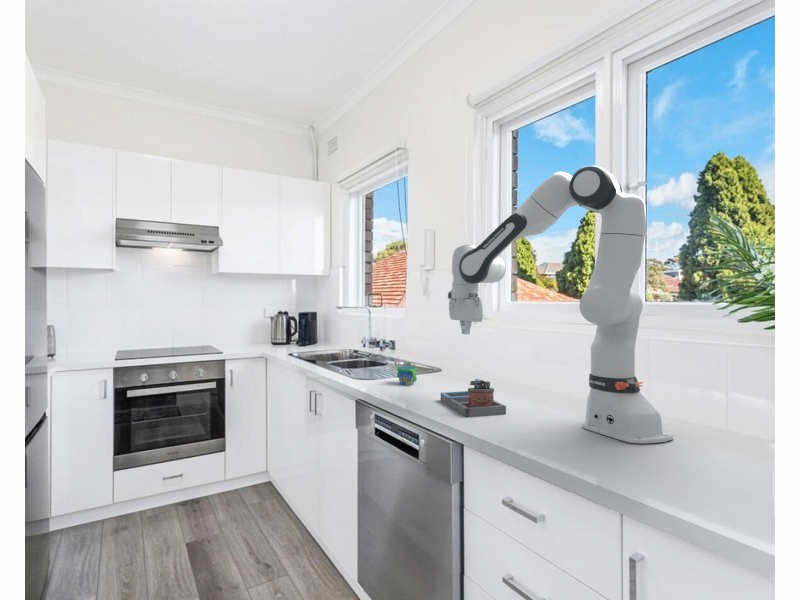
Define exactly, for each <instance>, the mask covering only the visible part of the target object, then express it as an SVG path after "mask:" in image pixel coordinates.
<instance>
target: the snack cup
mask: <svg viewBox="0 0 800 600" xmlns="http://www.w3.org/2000/svg"><path fill="white" fill-rule="evenodd" d="M396 371H397V373H396V374H397V375H396V376H397V378H398V381H399V385H400V386H405V387H406V386H407V387H409V386H410V387H411V386H414V383H415V382H416V381H417V380H418V378H417V374H416V371H417V367H415V366H411V365H408V366H407V365H404V366H398V367H396Z"/></svg>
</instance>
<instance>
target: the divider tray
mask: <svg viewBox="0 0 800 600" xmlns="http://www.w3.org/2000/svg"><path fill="white" fill-rule="evenodd" d="M480 380H481V379H479V378H475V379H474V381H480ZM478 386H479V385H477V388H478ZM486 387H487V385H486ZM440 402H442V403H444V404H445V405H447V406H448V407H449V408H451V409H453V410H454V411H456V412H458V413H459V414H461V415H462V416H464V417H466V418H472V417H473V418H474V417H487V416H497V415H498V416H499V415H501V416H502V415H506V414H507V405H505V404H503V403H500V402H499V401H496V400H494V406H486V407H473V408H469V391H468V390H464V391H449V392H446V391H445V392H440Z"/></svg>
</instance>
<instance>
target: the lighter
mask: <svg viewBox="0 0 800 600" xmlns="http://www.w3.org/2000/svg"><path fill="white" fill-rule="evenodd" d="M469 384H470V386H473V387H468V388H467V391H469V408H473V407H486V406H494V401H495V400H494V392H495V388H494V387H490V386H491V381H489V380H487V381H484V380H483V379H480V381H475V380H470V382H469ZM477 385H479V386H478V388H477ZM486 385H487V387H486Z"/></svg>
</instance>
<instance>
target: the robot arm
mask: <svg viewBox="0 0 800 600" xmlns="http://www.w3.org/2000/svg"><path fill="white" fill-rule="evenodd" d="M573 206H579V207H581V208H583V209H584V210H585V209H586V210H588V211H590V212H593V213H597V214H600V216H601V217H600V218H601V227H600V234H599V241H598V247H597V254H596V260H595V265H594V268H593V271H592V274H591V276H590V279H589V282H588V285H587V288H586V290H585V292H584V294H583V295H581V297H580V300H579V311H580V314H581V316H582V318H583V319H585V320H586V321H587V322H589V323H591V324H593V325H596V329H595V330H596V331H595V335H594V338H593V341H592V343H591V346H590V373H589V375H588V376H589V377H588V386H589V388H590V391H589V394H588V397H587V398H586V409H585V418H584V420H585V421H584V422H583V423H582V425H581V428H582V429H584V430H586V431H587V430H588V431H591V432H594V433H597V434H601V435H604V436H606V437H609V438H613V439H617V440H619V441H622V442H626V443H629V444H656V443H664V442H668V441H669V442H670V441H671V440H673V439H674V434H673V433H671V432H668V431H665V430H664V429H663V422H662V416H661V413H660V412H659V411H658V410H657V409H656V408H655V407H654V406H653V404H651V402H649V400H648V399H647V398H646V397H645V396H644V395H643V394H642V393H641V392H640V391H641V387H643V385H642V384H644V382H643V381H640V382H639V381H638V379H637V377H636V375H635V374H636V370H635V369H636V367H635V366H636V359H635V358H636V354H635V353H636V352H635V351H636V344H637V343H636V341H637V337H638V336H637V335H638V331H639V325H640V318H641V313H642V312H643V309H644V308H643V307H644V303H643V299H642V298H641V296H640V294H638V292H637V291H635V290H633V288H632V287H633V283H634V280H635V278H636V275H637V273H638V271H639V270H640V267H641V265H642V258H643V257H642V256H643V251H644V243H645V236H646V226H647V213H646V203H645V201H644V200H643V198H642V197H640V196H637V195H635V194H632V193H631V194H630V193H623V190H622V186H621V184H620V182H619V181H618V179H616V178H615V176H614V175H613V174H612V173H610V172H609V171H608V170H606V169H605V168H603V167H601V166H598V165H587V166H583V167H581V168H579V169H578V170H576V171H575V173H574V174H573V175H571V174H569V173H567V172H563V171H557V172H555V173H553V174H551V175H550V176H548V178H547V179H545V180H544V181H543V182H542V183H541V184H539V186H537V187H536V189H534V190H533V192H532V193H531V194H529V196H528V197H527V198H526V199H525V201H524V202H523V203H522V204H521V205H519V207H518V208H517V209H516V210H515V211H513V213H512V214H511V215H509V216H508V217H507V218H505V220H504V221H502V223H500V224H499V225H498V226H497V227H496V228H495V229H494V230H493V231H492V232H491V233H490V234H489V235H487V237H486V238H485V239H484V240H483V241H482V242H481V243H480V244H479V245H477V246H476V245H473V244H464V245H461V246H459V247H457V248H455V249H454V251H453V254H452V260H451V274H452V279H453V280H452V282H451V283H452V284H451V290H449V292H448V293H447V299H448V310H449V318H450V319H451V321H459V325H460V329H461V334H462V335H470V334H471V327H472V323H473V322H475V323H478V322H479V323H481V322H482V321H483V319H484V310H483V301H482V300H481V298H480V296H479V284H493V283H494V284H495V283H497V282H499V281H501V280H502V279H503V278H504V277H505V275H506V269H507V266H506V263H505V260H504V259H503V258H502V257H501V256H499V255H501V254H502V253H503V252H504V251H505V250H506V249H507V248H508V247H510V245H511V244H513V243H514V242H516V241H517V240H520V239H522V238H525V237H529V236H531V237H532V236H535V235H540V234H542V233H544V232H545V231H547V230H548V229H549V228H551V227H552V226H553V225H554V224H555V223H556V222H557V221H558V220H559V219H560V218H561V217H562V216H563V215H564V214H565V212H566V211H568V210H569V208H571V207H573Z"/></svg>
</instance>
